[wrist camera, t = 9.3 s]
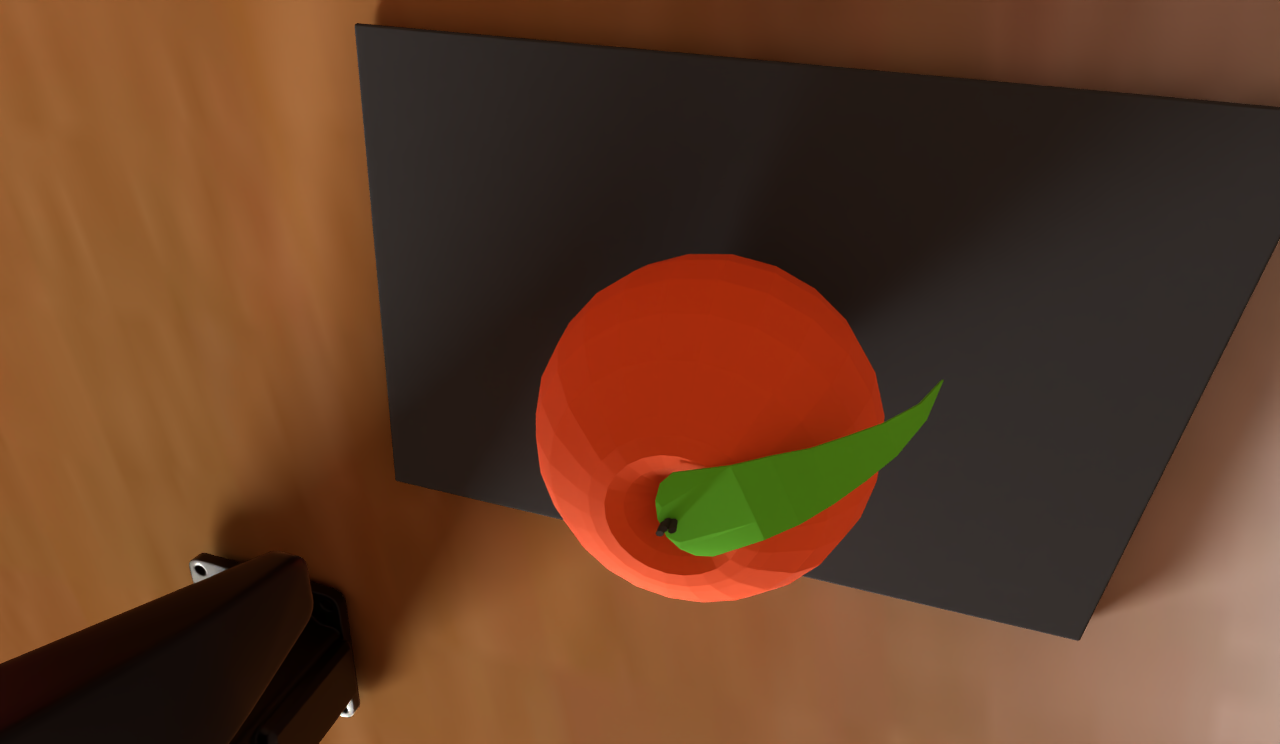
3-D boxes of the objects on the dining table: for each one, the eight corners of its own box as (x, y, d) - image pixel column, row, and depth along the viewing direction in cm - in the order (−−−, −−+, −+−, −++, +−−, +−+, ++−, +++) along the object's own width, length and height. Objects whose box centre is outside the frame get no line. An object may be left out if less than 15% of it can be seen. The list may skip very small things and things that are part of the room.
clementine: (862, 149, 14) (889, 215, 8) (958, 427, 16) (1040, 657, 10) (550, 283, 17) (392, 407, 11) (662, 503, 19) (580, 715, 13)
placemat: (403, 472, 22) (394, 481, 21) (366, 23, 16) (353, 22, 16) (1074, 628, 18) (1080, 642, 18) (1326, 111, 12) (1344, 112, 12)
